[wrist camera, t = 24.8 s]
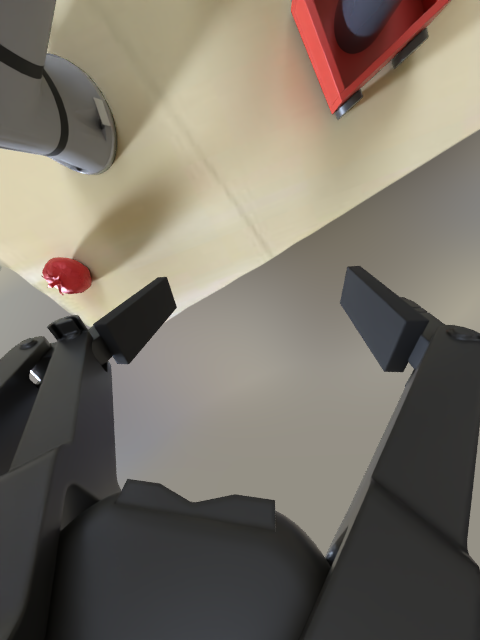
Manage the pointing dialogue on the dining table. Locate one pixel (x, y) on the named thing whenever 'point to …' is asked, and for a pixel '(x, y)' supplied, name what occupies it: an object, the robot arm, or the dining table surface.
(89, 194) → the dining table surface
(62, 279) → the pomegranate
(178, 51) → the dining table surface
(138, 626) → the robot arm
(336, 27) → the tin
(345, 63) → the cart
